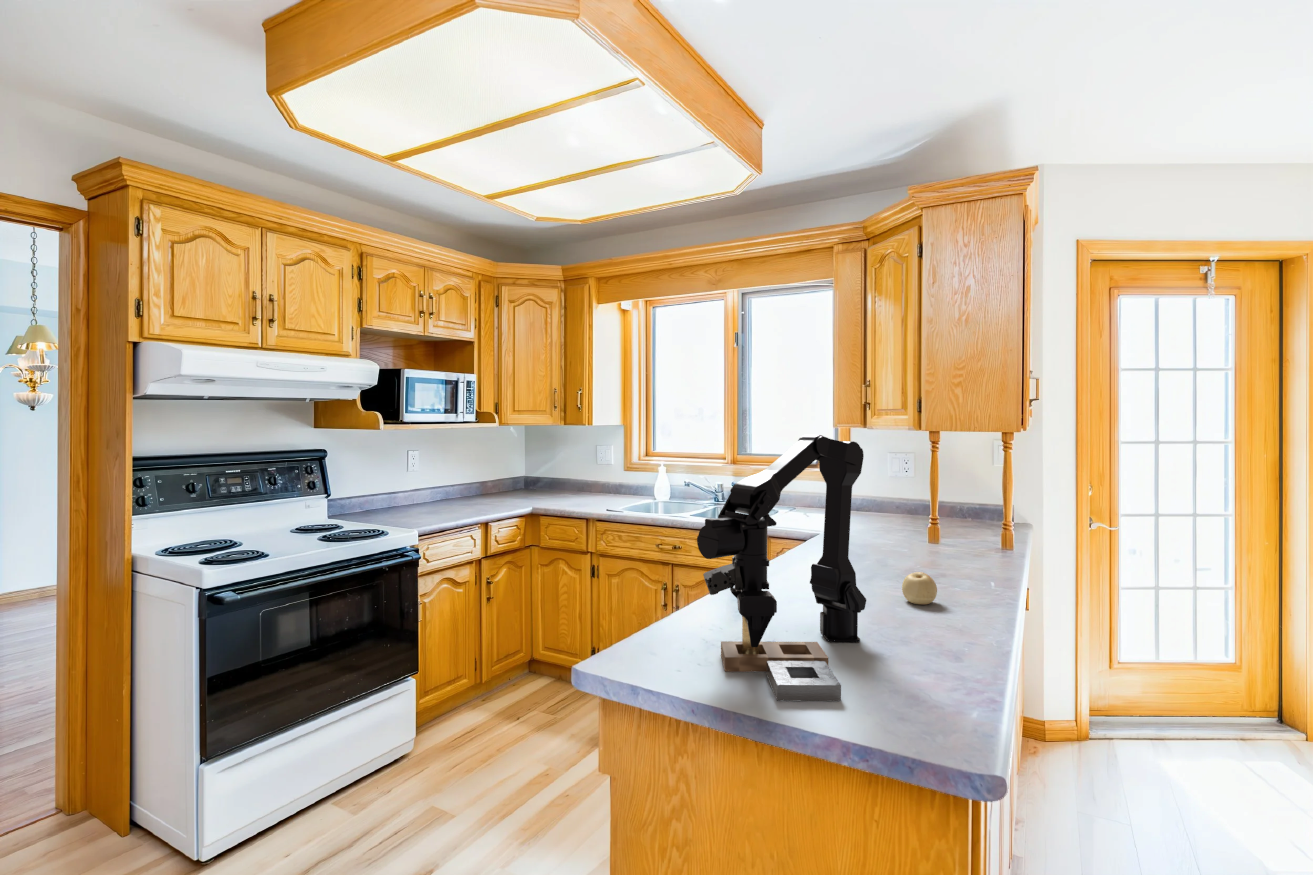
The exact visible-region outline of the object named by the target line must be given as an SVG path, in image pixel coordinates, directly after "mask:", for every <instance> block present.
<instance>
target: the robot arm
mask: <svg viewBox="0 0 1313 875" xmlns="http://www.w3.org/2000/svg"><path fill="white" fill-rule="evenodd" d="M815 461H818V464H819V465H818V466H819V469H818V470H819V472H820V474H821V476H822V478H823V480H824V483H825V486H826V487H825V488H826V489H825V505H824V524H823V525H824V526H823V542H822V543H823V544H822V555H821V557H820V558H819V560H818V562H817V563H812V564H811V566H810V571H811V573H810V574H811V575H810V579H809V584H811V590H812V593H813V594H814V598H815V601H816V602H815V603H816V604H819V605H822V611H820V613H819V631H820V633H821V634H822V636H823V637H824V638H825V640H826V641H827V642H833V643H834V642H835V643H836V642H837V643H841V642H842V643H845V642H846V643H847V642H852V643H853V642H857V643H859V642H861V638H860V637H859V636H858V631H859V630H858V626H859V624H858V619H859V618H858V615H859V614H860V613H862V611H864V610H866V604H867V598H866V597H865V595H864V594H863V593H862V592H861V590H860V588H858V586H857V578H856V577H857V574H856V571H855V568H854V567H853V565H852V563H851V560H850V558H849V555H850V554H849V550H850V533H851V532H850V531H851V512H852V494H853V485H854V484H855V483H856V481H857V480H858V478H859V476H860V475H861V474H862V468H863V463H864V450H863V448H862V447H861V445H860V444H859V442H857V441H851V440H849V441H848V440H836V439H833V438H830V437H826V436H824V435H821V434H804V435H801V436H800V437H799V438H798V440H797V442H795V443H794V444H793V445H792V446H791V447H790V448H789V449H787V450H786V451H785V452H784V453H783V454H782V455H781V456H779V457H777V459H776V460H774V461H773V462H772V463H771V464H770V465H769V466H767V467H766V468H765V469H764V470H762V471H760V472H758V473H755V474H752V475H749V476H746V477H745V478H742V479H741V480H740V481H737V482H735V483H734V484H733V486H732V487H731V488H730V493H729V495H728V497H727V499H726V501H725V503H724V504H723V507H722V508H721V510H720V512H719V514H718V516H717V518H712V517H709V518H705V519H704V526H702V527H701V528H700V529H699V532H698V534H697V537H696V544H697V548H698V551H699V553H700V554H701V556H702V557H703V558H705V559H707V560H712V559H718V558H725V557H730V556H731V563H729V564H725V565H722V566H720V567H716V568H714V569H711V570H708V571H705V572H703V575H702V576H703V580H704V581H705V584H706V587H707V590H708V592H709V595H711V596H714V595H717V594H718V593H719V592H721V591H726V590H728V589H729V590H730V593H731V595H733V596H734V597H735V599H737V602H736V603H737V611H738V613H739V614H740V616H741V617H742V616H743V617H744V618H746V620H747V625H748V631H749V637H750V643H751V647H758V645H759V643H760V642H762V641H761V640H762V639H763V637H764V634H765V632H766V630H767V629H768V626H769V624H770V623H771V620H772V618H773V617H774V616H775V614H776V613H777V612H778V611H777V610H778V605H777V604H778V603H777V602H778V601H777V599H776V598H775V596H774V595H773V594H772V593H771V592H770V591H769V590H770V582H768V567H770V559H768V527H775V526H777V522H776V520H775V519H773V518H772V516H771V515H770V513H771V512H772V510H773V509H774V508H775V506H777V504H778V502H780V499H781V493H782V492H783V490H784V489H785V488H786V487H787V486H788V485H789V484H790V483H791V482H793V481H794V480H795V479H796V478H797V477H798V476H799V475H800V474H802V473H803V472H804V471H805V470H806V469H807V468H808V467H809V466H811V465H812V464H813V463H814V462H815Z"/></svg>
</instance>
